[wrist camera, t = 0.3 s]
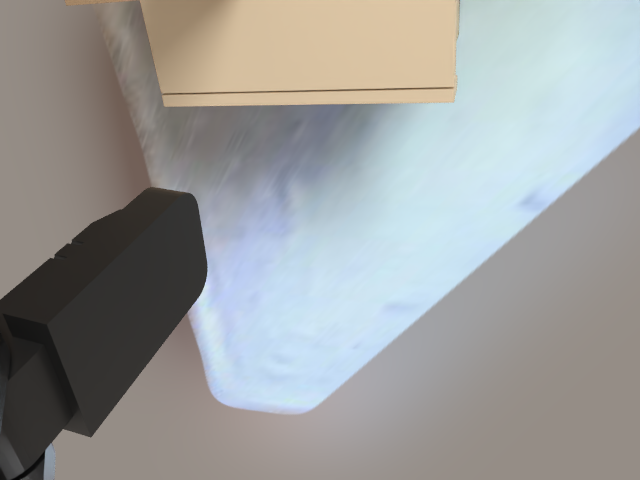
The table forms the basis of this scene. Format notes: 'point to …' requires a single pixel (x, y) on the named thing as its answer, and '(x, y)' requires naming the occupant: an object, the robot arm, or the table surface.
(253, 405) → the table surface
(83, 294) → the robot arm
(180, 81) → the lid
